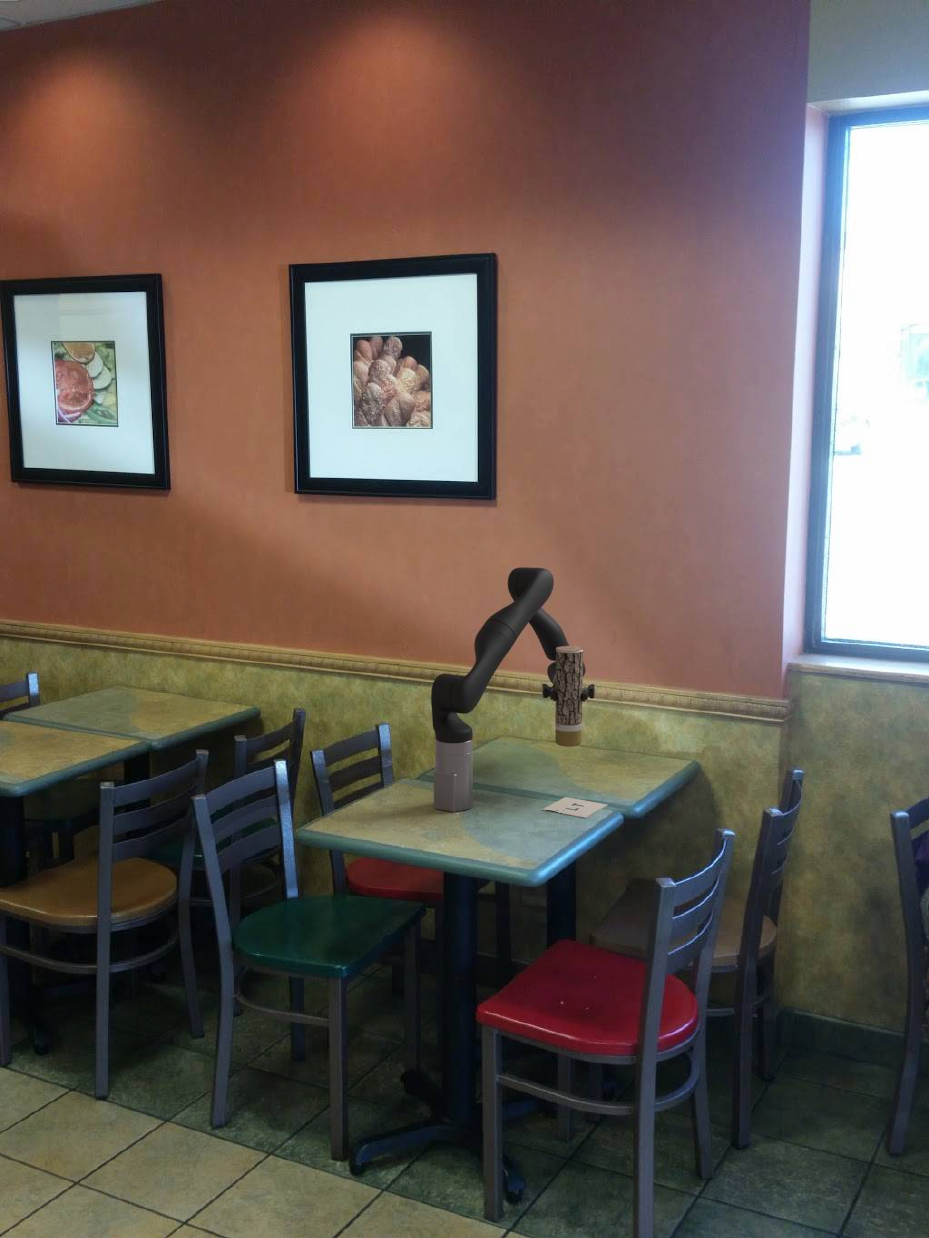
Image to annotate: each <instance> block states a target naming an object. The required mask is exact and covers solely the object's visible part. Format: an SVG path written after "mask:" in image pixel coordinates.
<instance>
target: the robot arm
mask: <svg viewBox="0 0 929 1238" xmlns="http://www.w3.org/2000/svg"><path fill="white" fill-rule="evenodd" d="M554 586H555V580H554V575H553V573H552V572H551V571H550V570H548V569H547V568H543V567H526V566H525V567H523V566H522V567H515V568H513V569H512V570H511V571H510V572H509V575H508V576H507V589H508V593H509V595H510V598H512V600H513V602H511V603H509V604H508V605H507V606H505V607H503V608H501V609H499V610H497V611H496V612H495V613H494V614H492V615H491V616H489V617H488V618H487V620H486V621H485V622H484V624H483V625H482V626H481V627H480V629H479V631H478V632H477V633H476V636H475V637H474V638H475V639H474V643H473V645H474V655H475V662H474V664H473V667H471V669H470V670H469V672H468V673H467V674H466V675H459V674H451V673H441V674H438V675H437V676H436V677H435V679H434V680H433V682H432V686H431V692H430V695H431V696H430V700H431V702H430V704H431V718H432V729H433V732H434V735H435V741H434V744H435V749H434V750H435V751H434V752H435V754H434V755H435V761H434V762H435V763H434V764H435V770H434V771H433V809H436V810H440V811H441V810H442V811H445V812H446V811H447V812H451V813H456V812H459V811H460V812H461V811H466V810H470V809H472V808H473V805H474V804H473V803H474V802H473V801H474V799H473V797H474V792H473V791H474V790H473V789H474V788H473V787H474V785H473V778H474V776H473V769H474V768H473V766H474V765H473V764H474V763H473V756H474V754H473V753H474V750H473V749H474V748H473V746H474V745H473V743H474V742H473V738H474V736H473V728H472V727H471V726H470V724H468V723H466V722H465V721H464V720H462V719H461V718H460V716H459V715H458V714H461V715H462V714H465V715H467V714H469V713H471V712H473V711H474V709H475V708H477V706H478V704H479V702H480V701H481V698H482V697H483V695H484V693H485V691H486V690H487V688H488V685H489V683H490V681H491V679H492V678H493V676H494V674H495V673H496V672H497V670H498V668H499V667H500V664H501V663H502V662H503V661H504V658H506V656H507V655H508V654H509V652H510V650H512V647H513V646H514V644H515V643H516V641H517V640H518V638H519V636H520V635H521V634H522V632H523V631H524V629H525V628H526V627H527V625H528V624H529V625H530V627H531V628H532V629H533V631H534V633H535V635H536V636H537V639H538V641H539V643H540V645H541V648H542V650H543V652H544V654H545V656H546V658H547V659H548V660H549V661H553V662H551V663H550V664H549V665H548V667H547V669H546V670H547V671H546V672H547V674H546V675H547V677H548V680H549V681H550V682H551V684H552V686H549V684H547V683H542V684H541V694H542V698H543V699H548V698H549V697H550V700H552V701H553V702H556V648H557V647H562V646H570V644H569V642H568V640H567V637H566V635H565V632H564V630H563V629H562V627H561V626H560V624H559V623H558V621H556V619H554V618H553V617H552V616H551V614H549V613H548V612H547V611H546V610H544V608H543V606H544V605H545V604H546V603H547V601H548V600H549V598H550V596H551V594H553V593H552V592H553V589H554ZM586 671H587V670H586V665H585V663H584V662H583V677H584V676H585V675H586ZM595 686H596V685H595V684H593V683H592V684H589V685H587V686H585V685H584V684H582V703H584V702H586V701H588V699H595V695H596V694H595Z"/></svg>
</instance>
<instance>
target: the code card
mask: <svg viewBox="0 0 929 1238" xmlns="http://www.w3.org/2000/svg"><path fill="white" fill-rule="evenodd" d="M608 806H609V805H608V804H607V803H601V802H594V801H589V800H584V799H578V798H573V797H569V796H565V797H563V798H561V799H559V800H557V801H555V802H553V803H551V804H549V805H548V806H546V807H544V808H542V809H541V810H542V811H545V810H553V811H556V810H558V811H556V812H558V813H557V814H560V813H562V815H567V816H572V817H577V818H583V819H587V818H588V817H590V816H592V815H594V814H596V813H597V812H599V811H600V810H602V809H605V808H606V807H608ZM563 810H564V811H563Z"/></svg>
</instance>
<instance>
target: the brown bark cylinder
mask: <svg viewBox="0 0 929 1238" xmlns="http://www.w3.org/2000/svg"><path fill="white" fill-rule="evenodd" d="M583 649H584V648H583V647H581V646H575V645H573V646H572V645H569V646H562V647H557V648H556V701H555V716H554V717H555V719H554V720H555V723H554V724H555V728H554V729H555V730H554V731H555V732H554V733H555V739H554V742H555V744H556V745H557V746H561V747H567V748H568V747H569V748H572V747H578V746H580V745H581V744H582V741H583V738H582V737H583V702H582V685H584V682H583V681H584V680H583V677H584V676H583V663H584V652H583V651H584V650H583Z"/></svg>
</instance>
